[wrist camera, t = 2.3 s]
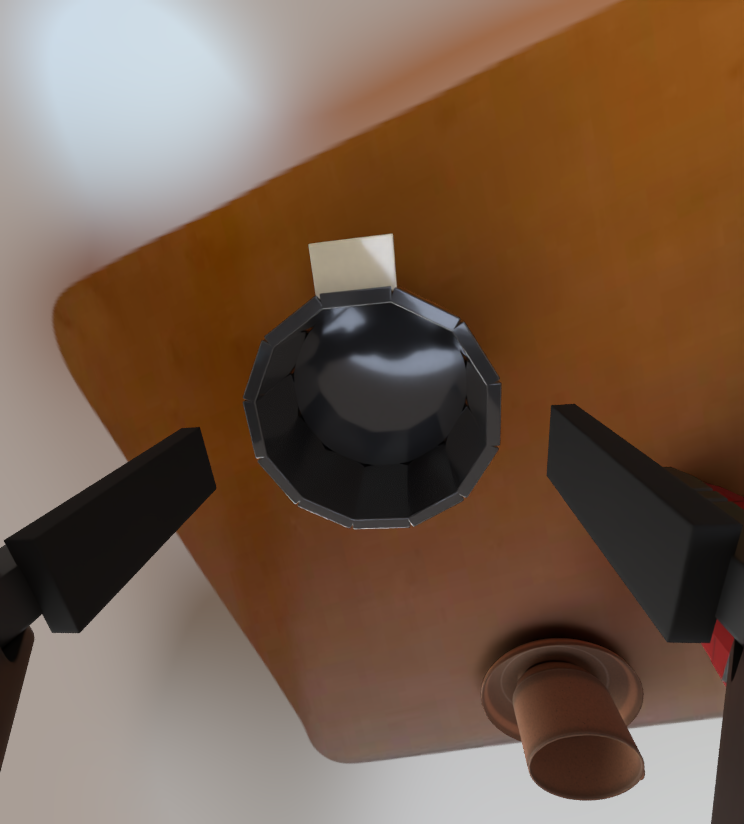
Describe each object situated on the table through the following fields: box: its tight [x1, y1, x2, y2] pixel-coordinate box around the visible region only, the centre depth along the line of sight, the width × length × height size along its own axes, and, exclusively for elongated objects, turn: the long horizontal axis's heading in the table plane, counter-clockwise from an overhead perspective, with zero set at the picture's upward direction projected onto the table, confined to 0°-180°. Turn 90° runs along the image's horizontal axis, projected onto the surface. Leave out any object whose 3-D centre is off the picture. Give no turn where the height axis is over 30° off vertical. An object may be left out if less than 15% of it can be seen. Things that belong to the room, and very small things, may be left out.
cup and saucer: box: [481, 638, 645, 800], centre depth 27 cm, size 12×12×6 cm
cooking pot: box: [243, 233, 501, 529], centre depth 18 cm, size 13×11×6 cm
